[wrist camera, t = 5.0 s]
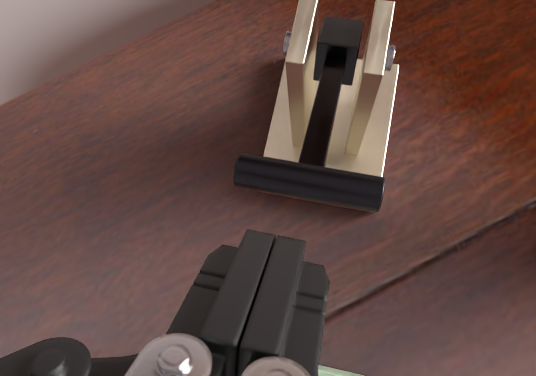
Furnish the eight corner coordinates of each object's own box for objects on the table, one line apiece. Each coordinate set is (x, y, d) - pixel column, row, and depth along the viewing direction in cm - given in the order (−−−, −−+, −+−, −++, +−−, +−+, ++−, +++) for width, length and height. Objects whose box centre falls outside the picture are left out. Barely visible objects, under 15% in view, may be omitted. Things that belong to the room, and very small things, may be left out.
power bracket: (374, 213, 33) (414, 152, 21) (257, 191, 34) (230, 122, 22) (396, 72, 36) (442, -54, 24) (288, 57, 37) (279, -70, 25)
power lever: (374, 226, 18) (386, 188, 17) (234, 200, 19) (231, 161, 17) (389, 62, 26) (398, 25, 24) (289, 49, 27) (291, 11, 25)
